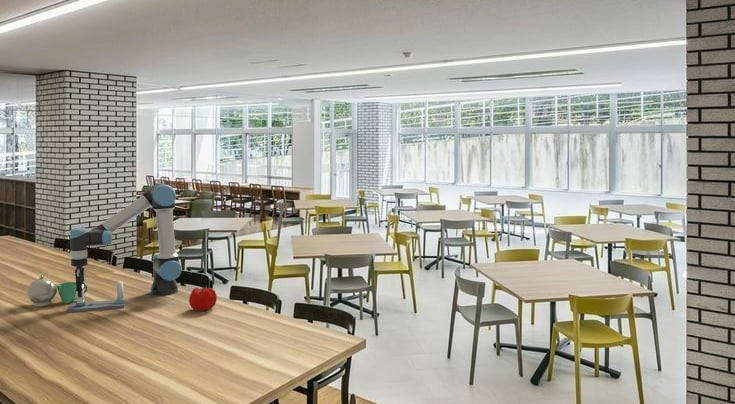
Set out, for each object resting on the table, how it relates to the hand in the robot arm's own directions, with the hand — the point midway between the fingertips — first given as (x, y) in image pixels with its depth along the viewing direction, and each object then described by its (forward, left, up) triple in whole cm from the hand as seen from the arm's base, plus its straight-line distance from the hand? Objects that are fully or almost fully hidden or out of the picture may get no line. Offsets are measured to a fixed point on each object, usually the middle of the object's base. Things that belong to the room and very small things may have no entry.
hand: (80, 301), depth 279 cm
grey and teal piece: (-8, 0, -4) cm, 9 cm away
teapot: (+21, -14, -4) cm, 26 cm away
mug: (+6, -16, -4) cm, 17 cm away
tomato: (-60, +22, -4) cm, 64 cm away
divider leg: (0, 0, -2) cm, 2 cm away
